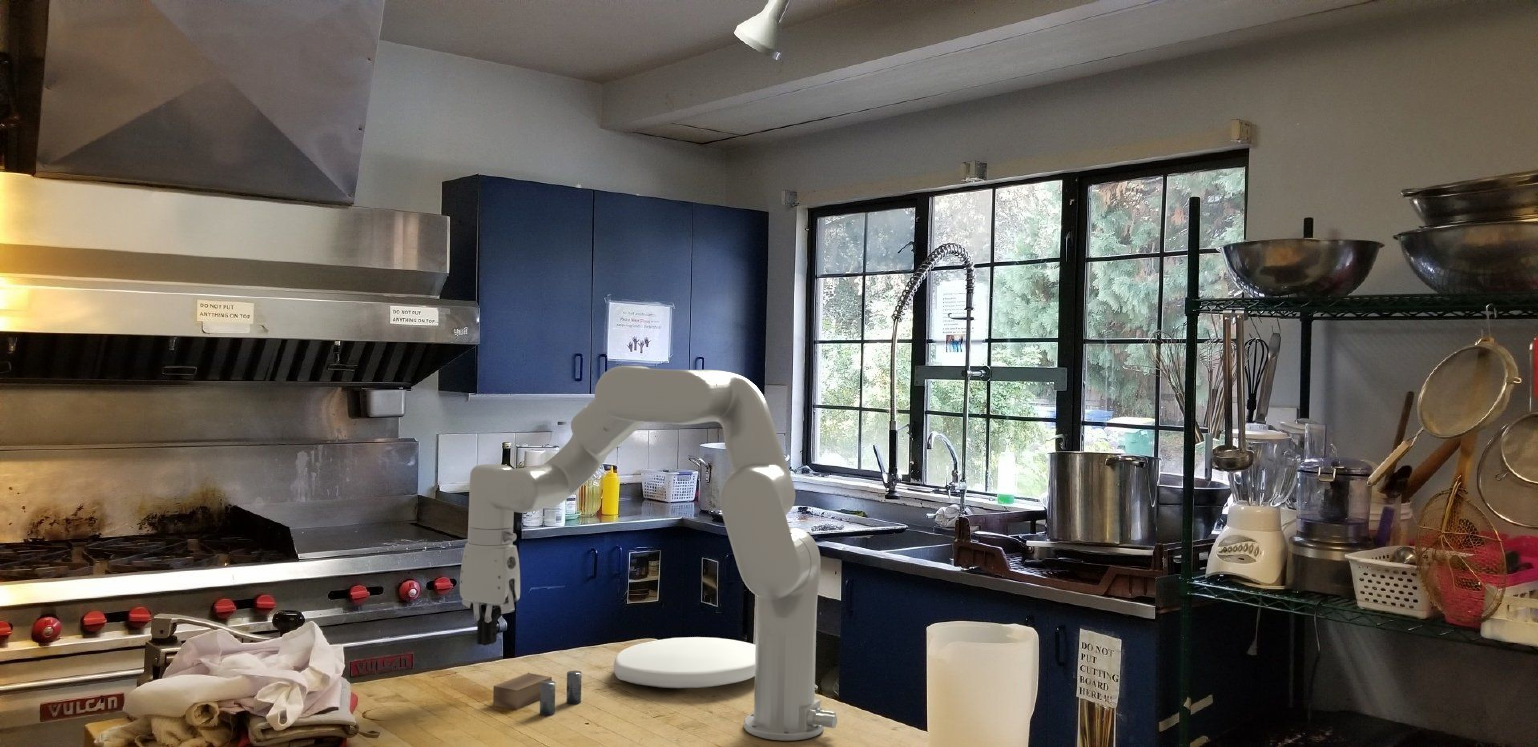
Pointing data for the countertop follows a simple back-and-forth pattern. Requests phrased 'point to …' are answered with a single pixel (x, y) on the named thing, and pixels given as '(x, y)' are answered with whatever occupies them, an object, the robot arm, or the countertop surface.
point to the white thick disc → (686, 662)
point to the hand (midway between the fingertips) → (486, 642)
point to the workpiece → (519, 691)
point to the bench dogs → (549, 693)
